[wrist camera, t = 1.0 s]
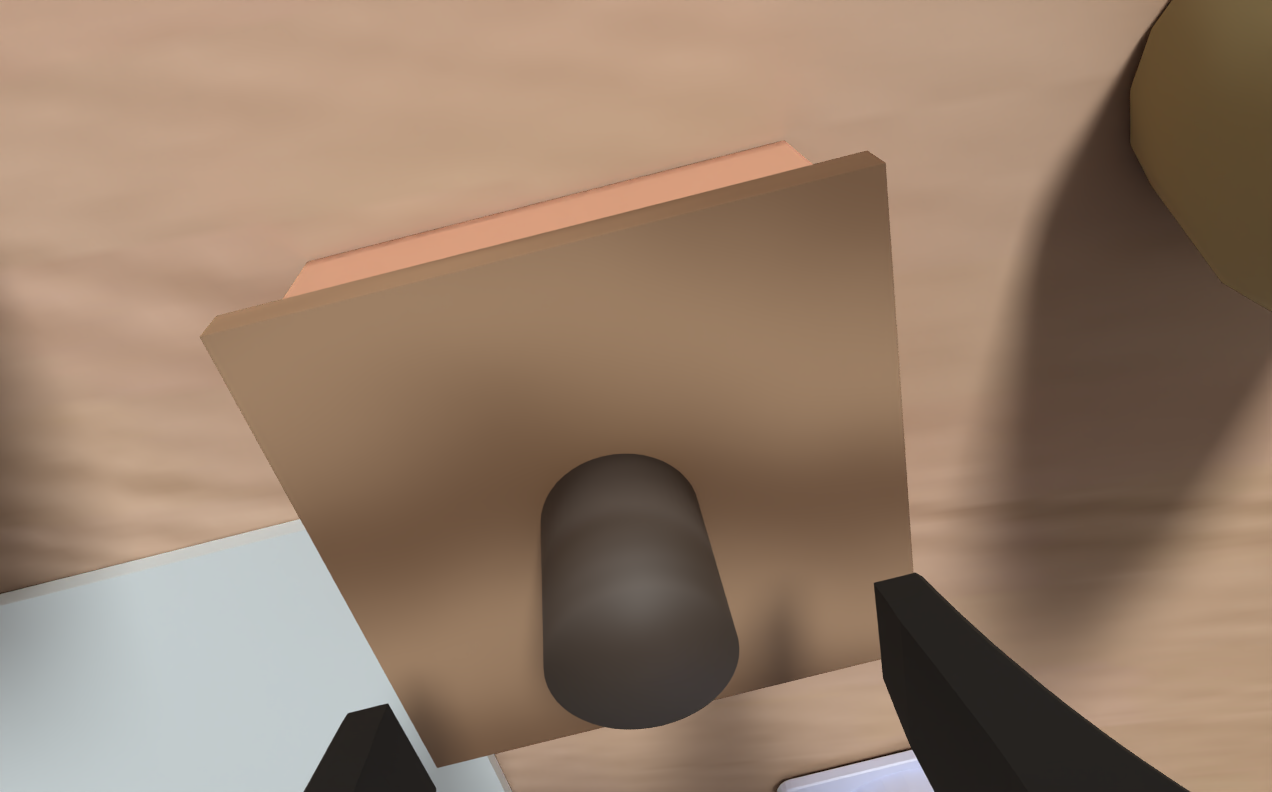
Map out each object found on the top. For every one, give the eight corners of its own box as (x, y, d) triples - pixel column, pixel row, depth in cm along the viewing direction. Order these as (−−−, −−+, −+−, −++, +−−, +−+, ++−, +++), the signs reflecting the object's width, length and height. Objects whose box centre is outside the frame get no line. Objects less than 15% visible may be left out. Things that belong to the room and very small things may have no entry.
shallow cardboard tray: (832, 517, 22) (881, 613, 19) (464, 609, 22) (454, 718, 19) (783, 140, 17) (839, 188, 14) (307, 262, 17) (259, 335, 14)
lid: (904, 623, 19) (995, 792, 15) (440, 737, 19) (419, 932, 16) (866, 150, 14) (994, 235, 10) (216, 316, 14) (99, 461, 10)
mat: (549, 868, 28) (550, 883, 28) (93, 980, 28) (86, 996, 28) (370, 501, 20) (367, 514, 20) (-266, 660, 20) (-283, 676, 20)
